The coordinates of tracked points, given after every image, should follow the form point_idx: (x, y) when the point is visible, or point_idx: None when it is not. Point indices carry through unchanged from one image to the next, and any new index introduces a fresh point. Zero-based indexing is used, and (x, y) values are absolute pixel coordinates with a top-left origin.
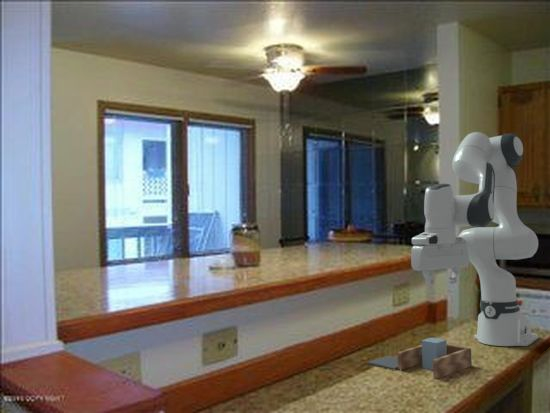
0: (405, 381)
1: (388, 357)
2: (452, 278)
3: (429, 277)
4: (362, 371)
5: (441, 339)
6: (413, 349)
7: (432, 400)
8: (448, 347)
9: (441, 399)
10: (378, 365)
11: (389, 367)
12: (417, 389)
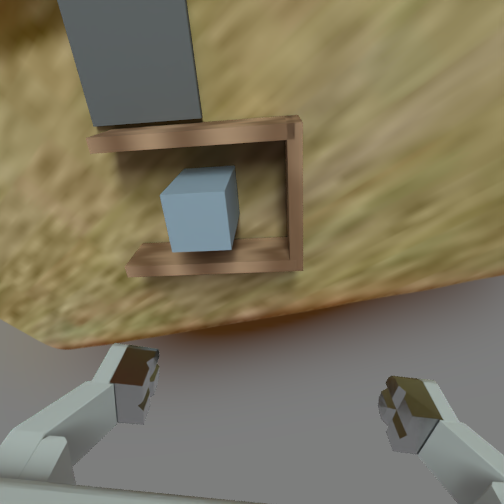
0: (71, 211)
1: (161, 2)
2: (393, 435)
3: (81, 442)
4: (5, 51)
5: (226, 234)
6: (162, 148)
7: (50, 314)
8: (288, 201)
9: (68, 321)
10: (74, 54)
11: (88, 107)
12: (62, 263)
